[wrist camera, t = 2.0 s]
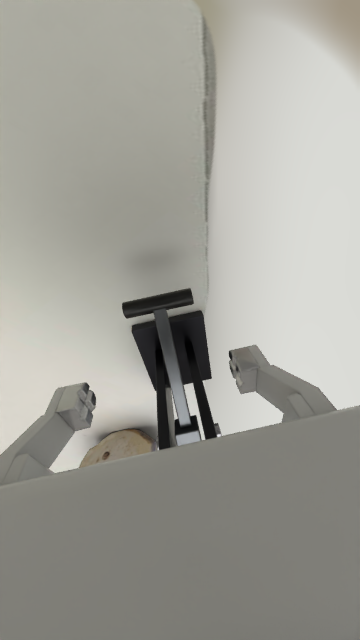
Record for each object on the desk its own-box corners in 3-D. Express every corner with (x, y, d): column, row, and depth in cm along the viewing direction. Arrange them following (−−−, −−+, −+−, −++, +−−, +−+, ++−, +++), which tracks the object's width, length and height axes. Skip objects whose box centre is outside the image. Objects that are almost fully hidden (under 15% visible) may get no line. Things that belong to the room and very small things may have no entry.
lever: (126, 302, 19) (119, 302, 17) (189, 288, 19) (191, 287, 17) (162, 448, 21) (160, 468, 18) (219, 436, 21) (225, 454, 18)
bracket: (132, 325, 26) (118, 437, 14) (201, 310, 26) (242, 409, 14) (155, 384, 32) (158, 492, 21) (209, 372, 33) (242, 473, 21)
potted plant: (25, 550, 24) (106, 642, 35) (172, 508, 25) (207, 610, 36) (76, 428, 41) (120, 515, 51) (164, 405, 42) (190, 496, 52)
